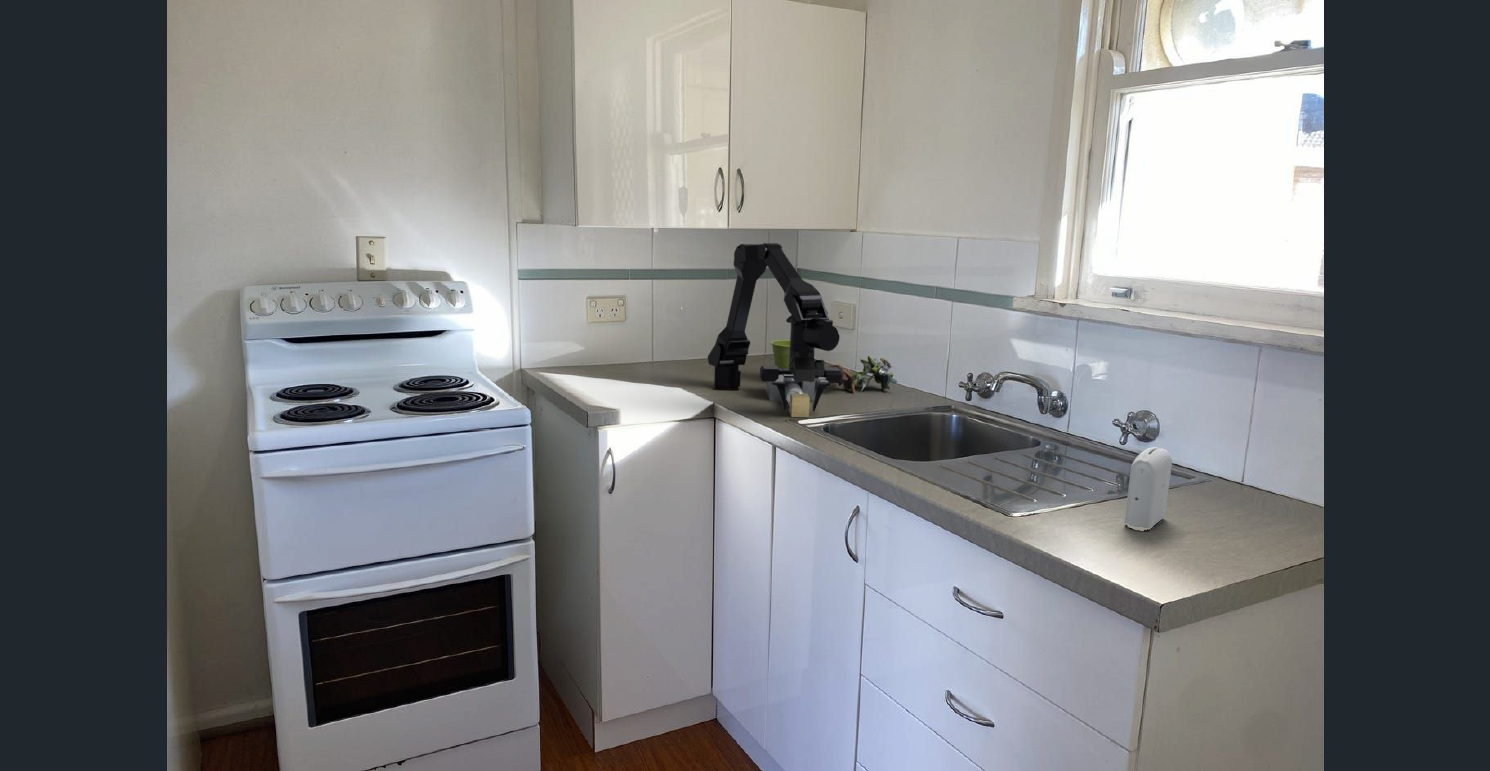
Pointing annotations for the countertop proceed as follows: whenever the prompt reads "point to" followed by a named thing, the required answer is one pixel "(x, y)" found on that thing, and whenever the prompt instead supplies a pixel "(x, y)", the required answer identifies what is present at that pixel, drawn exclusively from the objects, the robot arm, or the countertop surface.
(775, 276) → the robot arm
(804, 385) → the housing
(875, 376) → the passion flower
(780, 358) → the plant pot
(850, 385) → the brown lumpy piece
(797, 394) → the end cover
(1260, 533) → the countertop surface
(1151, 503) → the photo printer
